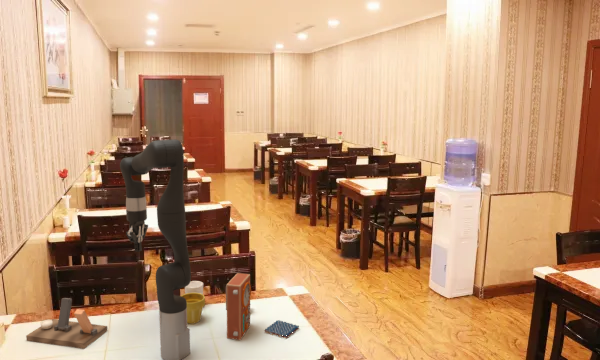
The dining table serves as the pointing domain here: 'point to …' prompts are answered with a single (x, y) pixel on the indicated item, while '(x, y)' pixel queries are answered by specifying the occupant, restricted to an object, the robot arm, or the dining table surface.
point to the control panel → (238, 305)
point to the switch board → (67, 335)
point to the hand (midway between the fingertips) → (138, 251)
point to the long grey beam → (64, 313)
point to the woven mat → (281, 329)
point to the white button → (46, 324)
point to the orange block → (83, 321)
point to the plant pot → (194, 306)
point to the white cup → (194, 287)
